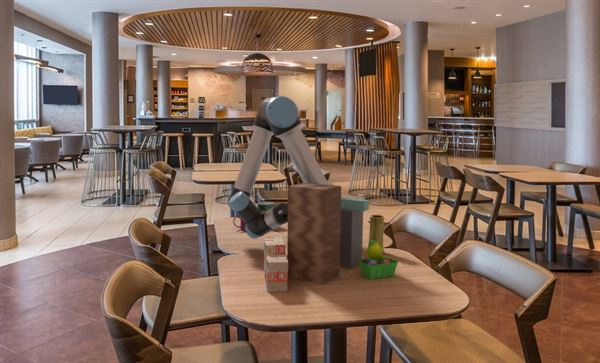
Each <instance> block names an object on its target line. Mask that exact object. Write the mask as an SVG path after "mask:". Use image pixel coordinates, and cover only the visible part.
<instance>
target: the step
mask: <svg viewBox="0 0 600 363" xmlns="http://www.w3.org/2000/svg"><path fill="white" fill-rule="evenodd" d="M363 232H364V211H356V210H347V209H341V228H340V268H347V269H353V268H355V267H357V266H359V265H360V263H359V260H361V259H363V241H364V240H363V238H364V237H363V236H364V233H363Z"/></svg>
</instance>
